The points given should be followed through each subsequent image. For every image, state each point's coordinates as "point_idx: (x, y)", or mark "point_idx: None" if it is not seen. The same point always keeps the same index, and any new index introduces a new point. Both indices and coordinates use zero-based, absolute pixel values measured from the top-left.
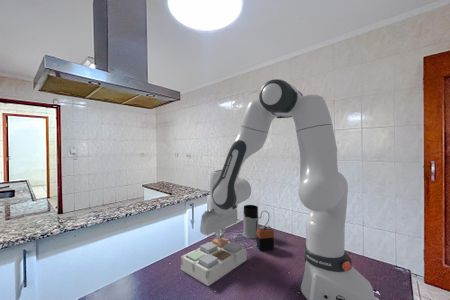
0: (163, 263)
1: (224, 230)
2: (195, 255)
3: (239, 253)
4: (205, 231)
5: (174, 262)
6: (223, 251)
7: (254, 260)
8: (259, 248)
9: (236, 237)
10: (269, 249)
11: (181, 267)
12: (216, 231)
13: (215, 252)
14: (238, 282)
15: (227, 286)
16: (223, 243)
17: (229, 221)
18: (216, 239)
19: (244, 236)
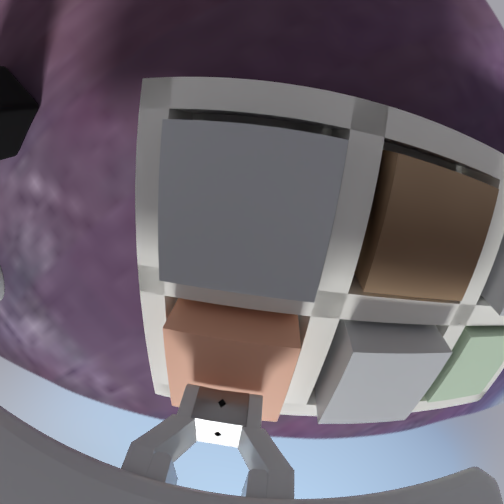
0: (424, 417)
1: (152, 443)
2: (482, 365)
3: (287, 85)
4: (500, 495)
5: None
6: (390, 247)
7: (156, 49)
8: (29, 111)
9: (31, 313)
10: (12, 75)
11: None
12: (289, 489)
13: (410, 304)
14: (449, 41)
15: (497, 89)
16: (252, 334)
17: (35, 489)
18: None
19: (2, 282)
